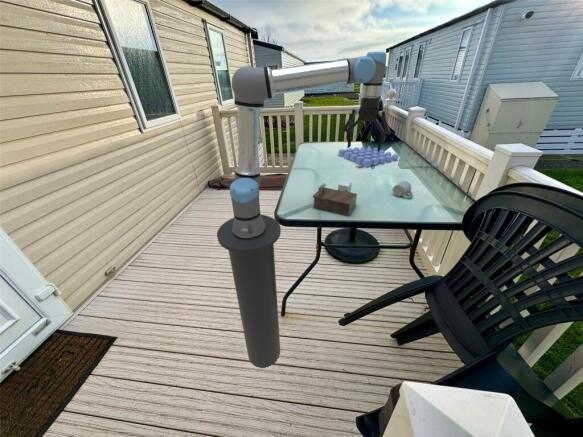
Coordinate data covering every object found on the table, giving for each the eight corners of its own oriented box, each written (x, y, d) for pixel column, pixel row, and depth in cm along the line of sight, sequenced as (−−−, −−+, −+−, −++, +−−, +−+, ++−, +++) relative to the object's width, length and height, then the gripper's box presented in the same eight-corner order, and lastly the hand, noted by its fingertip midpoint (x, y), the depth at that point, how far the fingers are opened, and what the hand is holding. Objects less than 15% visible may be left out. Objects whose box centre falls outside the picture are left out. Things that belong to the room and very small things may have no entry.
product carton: (337, 195, 144) (338, 184, 140) (341, 191, 149) (342, 180, 145) (346, 198, 141) (348, 186, 137) (350, 194, 146) (352, 182, 142)
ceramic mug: (390, 194, 144) (393, 182, 140) (397, 190, 149) (400, 178, 145) (407, 201, 138) (411, 188, 133) (414, 196, 142) (418, 184, 138)
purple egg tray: (338, 155, 211) (338, 149, 208) (368, 150, 224) (369, 144, 222) (366, 167, 184) (367, 161, 182) (399, 160, 198) (400, 154, 195)
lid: (312, 197, 129) (312, 189, 127) (321, 188, 139) (322, 180, 136) (349, 205, 121) (350, 196, 118) (356, 195, 131) (358, 186, 128)
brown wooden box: (313, 207, 132) (314, 197, 129) (322, 198, 142) (323, 188, 139) (348, 216, 124) (349, 205, 121) (355, 205, 134) (356, 195, 131)
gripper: (404, 97, 98) (393, 150, 109) (344, 95, 108) (339, 143, 119) (401, 99, 92) (390, 154, 103) (338, 96, 103) (334, 147, 114)
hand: (363, 148), depth 111 cm, fingers open, 13 cm apart
